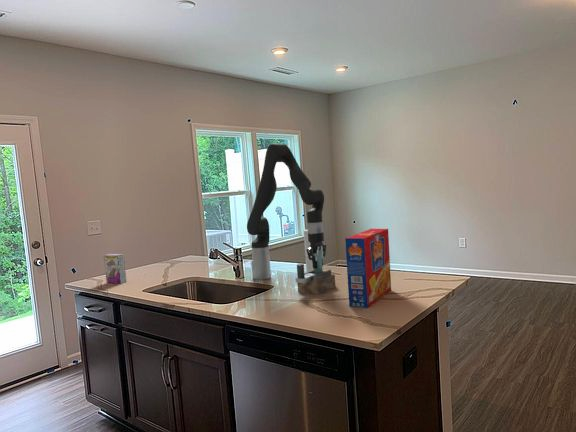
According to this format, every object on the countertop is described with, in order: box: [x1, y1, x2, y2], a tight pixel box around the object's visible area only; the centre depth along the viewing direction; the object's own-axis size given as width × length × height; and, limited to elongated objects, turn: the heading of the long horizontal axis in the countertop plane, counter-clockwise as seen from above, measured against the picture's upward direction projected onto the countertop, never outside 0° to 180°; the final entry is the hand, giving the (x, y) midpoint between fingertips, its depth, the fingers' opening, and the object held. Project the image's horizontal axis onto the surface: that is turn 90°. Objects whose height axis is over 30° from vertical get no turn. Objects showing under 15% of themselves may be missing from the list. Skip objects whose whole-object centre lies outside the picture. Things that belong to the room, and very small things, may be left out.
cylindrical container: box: [303, 228, 314, 273], centre depth 237 cm, size 7×7×25 cm
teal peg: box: [313, 250, 324, 274], centre depth 211 cm, size 4×4×12 cm
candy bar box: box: [103, 253, 127, 285], centre depth 255 cm, size 11×5×16 cm, turn 65°
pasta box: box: [344, 228, 392, 309], centre depth 188 cm, size 28×8×28 cm, turn 148°
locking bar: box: [295, 263, 316, 283], centre depth 203 cm, size 5×11×8 cm, turn 142°
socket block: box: [296, 269, 336, 295], centre depth 210 cm, size 12×14×8 cm
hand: (317, 267), depth 211 cm, fingers closed on teal peg, 4 cm apart
